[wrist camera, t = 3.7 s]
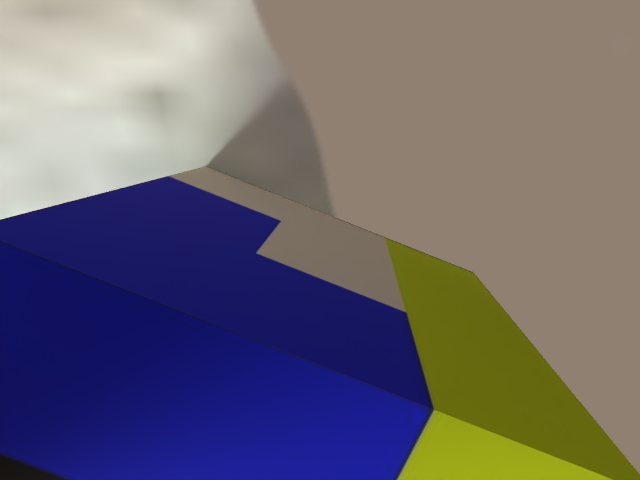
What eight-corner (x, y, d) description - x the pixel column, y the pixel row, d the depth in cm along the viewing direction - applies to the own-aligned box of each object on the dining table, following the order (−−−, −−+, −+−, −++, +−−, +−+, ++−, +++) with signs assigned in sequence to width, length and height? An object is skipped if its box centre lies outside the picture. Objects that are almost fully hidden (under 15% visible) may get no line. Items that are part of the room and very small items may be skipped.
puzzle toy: (206, 166, 16) (-32, 227, 6) (473, 272, 16) (657, 497, 6) (131, 400, 18) (-122, 710, 9) (363, 489, 18) (373, 891, 9)
